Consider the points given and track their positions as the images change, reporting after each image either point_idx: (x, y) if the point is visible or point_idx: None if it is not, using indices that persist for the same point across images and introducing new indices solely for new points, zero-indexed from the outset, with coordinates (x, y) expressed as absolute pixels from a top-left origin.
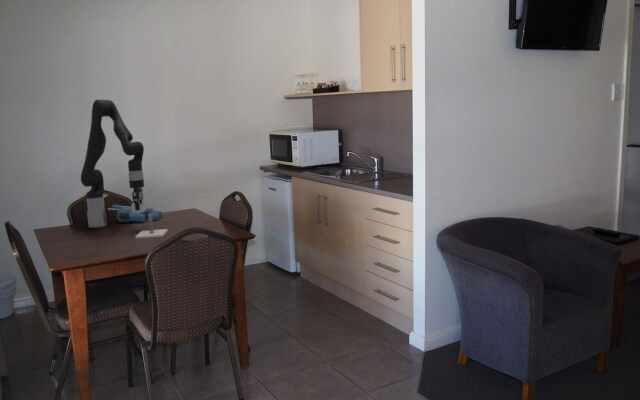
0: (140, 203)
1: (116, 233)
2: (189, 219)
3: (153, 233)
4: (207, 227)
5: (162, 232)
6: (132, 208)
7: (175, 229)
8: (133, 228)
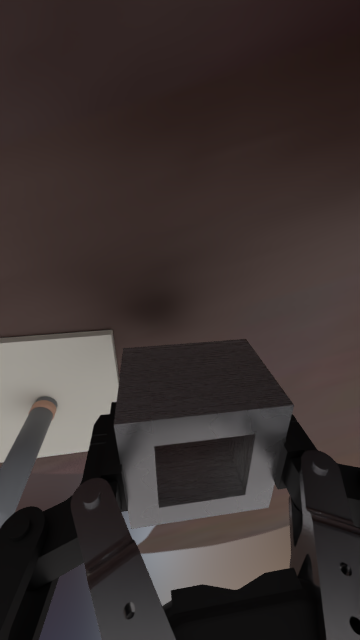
0: (243, 463)
1: (124, 147)
2: (343, 448)
3: (25, 417)
4: (155, 537)
5: (46, 448)
6: (121, 383)
7: None
8: (259, 238)
